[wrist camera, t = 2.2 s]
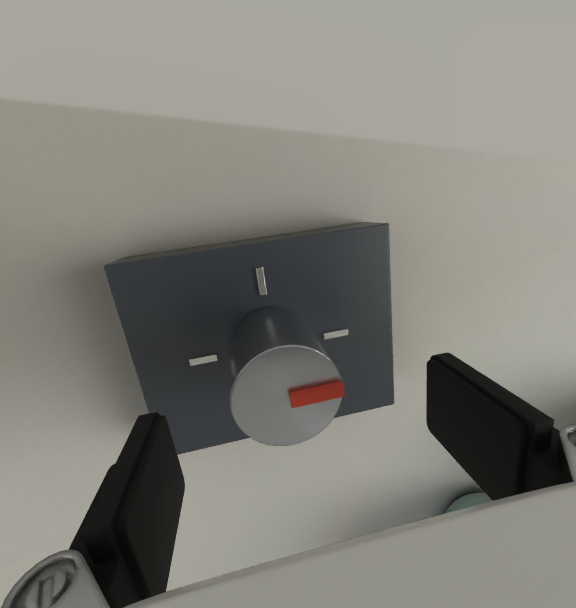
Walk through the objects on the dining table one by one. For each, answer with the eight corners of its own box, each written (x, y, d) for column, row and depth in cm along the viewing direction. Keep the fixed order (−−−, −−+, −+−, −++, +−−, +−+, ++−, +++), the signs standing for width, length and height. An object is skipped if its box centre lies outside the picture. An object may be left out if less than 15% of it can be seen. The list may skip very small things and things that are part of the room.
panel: (172, 424, 20) (162, 460, 17) (124, 257, 17) (101, 266, 14) (373, 379, 22) (395, 405, 19) (365, 221, 19) (391, 223, 16)
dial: (237, 390, 17) (241, 464, 12) (222, 315, 16) (219, 362, 11) (315, 373, 18) (349, 437, 12) (306, 300, 16) (341, 338, 11)
